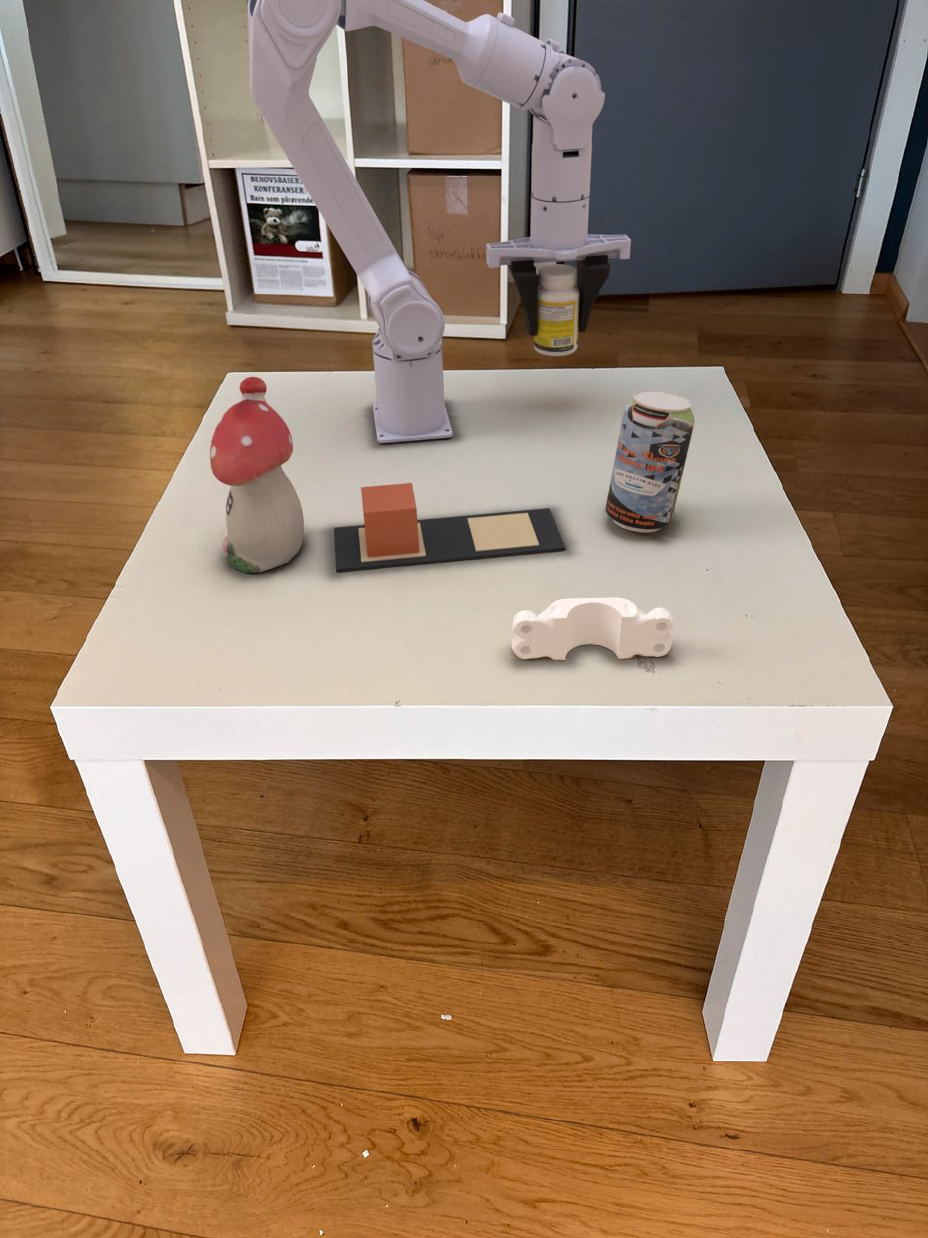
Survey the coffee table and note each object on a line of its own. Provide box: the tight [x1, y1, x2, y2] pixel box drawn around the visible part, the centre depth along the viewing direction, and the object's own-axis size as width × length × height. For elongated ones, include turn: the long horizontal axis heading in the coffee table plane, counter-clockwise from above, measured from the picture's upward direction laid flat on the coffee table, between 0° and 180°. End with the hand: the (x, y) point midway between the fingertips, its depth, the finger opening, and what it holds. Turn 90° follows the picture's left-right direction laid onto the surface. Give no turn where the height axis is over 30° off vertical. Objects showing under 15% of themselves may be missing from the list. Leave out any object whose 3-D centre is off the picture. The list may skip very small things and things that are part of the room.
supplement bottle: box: [533, 263, 580, 357], centre depth 103 cm, size 5×5×8 cm
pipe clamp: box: [510, 596, 675, 661], centre depth 73 cm, size 12×2×4 cm, turn 90°
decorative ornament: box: [209, 376, 305, 574], centre depth 82 cm, size 9×7×15 cm
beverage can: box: [605, 389, 696, 533], centre depth 86 cm, size 6×7×12 cm
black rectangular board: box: [333, 507, 566, 573], centre depth 87 cm, size 7×20×1 cm, turn 98°
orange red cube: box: [360, 482, 419, 557], centre depth 86 cm, size 4×4×4 cm
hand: (555, 330), depth 104 cm, fingers closed on supplement bottle, 5 cm apart
